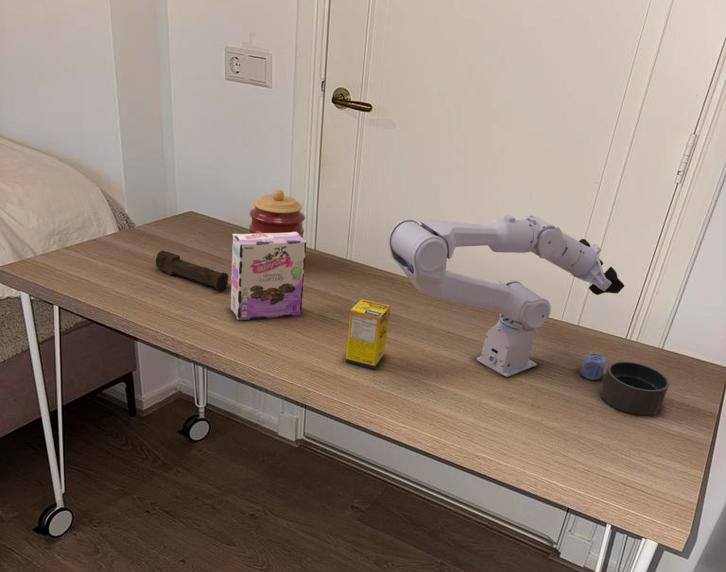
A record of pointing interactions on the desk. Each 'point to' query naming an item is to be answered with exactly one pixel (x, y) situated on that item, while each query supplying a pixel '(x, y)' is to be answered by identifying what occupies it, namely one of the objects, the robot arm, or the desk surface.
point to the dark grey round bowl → (634, 388)
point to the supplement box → (367, 333)
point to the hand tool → (191, 270)
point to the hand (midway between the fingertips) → (609, 277)
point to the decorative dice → (593, 366)
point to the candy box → (267, 275)
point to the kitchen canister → (276, 214)
